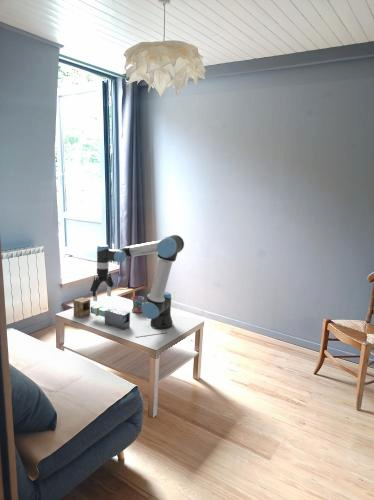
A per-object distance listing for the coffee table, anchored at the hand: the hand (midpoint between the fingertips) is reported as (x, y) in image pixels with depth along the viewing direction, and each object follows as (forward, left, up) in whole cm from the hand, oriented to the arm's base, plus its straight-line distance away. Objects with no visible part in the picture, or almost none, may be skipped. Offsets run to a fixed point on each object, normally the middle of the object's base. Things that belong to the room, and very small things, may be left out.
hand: (102, 298), depth 252 cm
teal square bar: (-6, 0, -12) cm, 14 cm away
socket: (+19, 0, -17) cm, 25 cm away
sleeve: (-13, 0, -17) cm, 21 cm away
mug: (-8, -31, -17) cm, 36 cm away
